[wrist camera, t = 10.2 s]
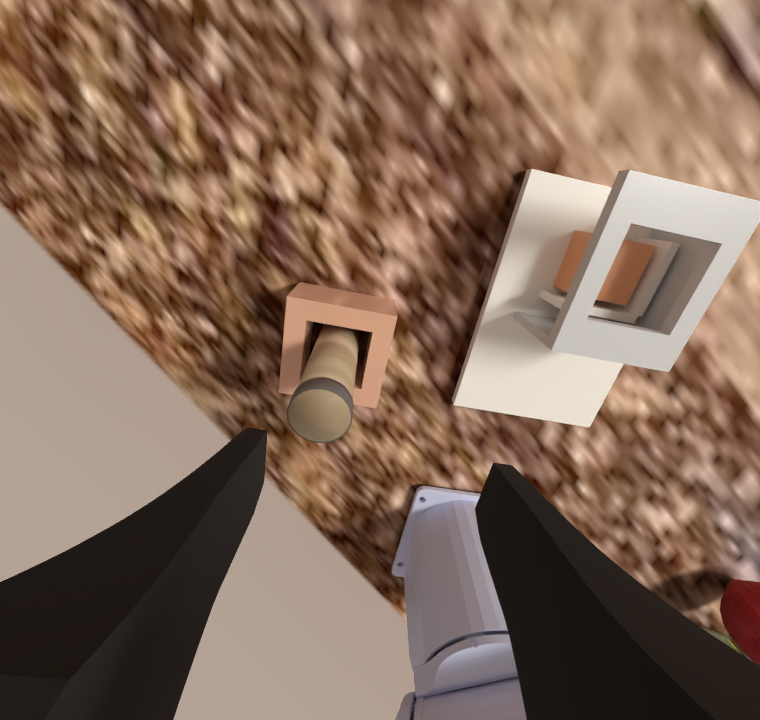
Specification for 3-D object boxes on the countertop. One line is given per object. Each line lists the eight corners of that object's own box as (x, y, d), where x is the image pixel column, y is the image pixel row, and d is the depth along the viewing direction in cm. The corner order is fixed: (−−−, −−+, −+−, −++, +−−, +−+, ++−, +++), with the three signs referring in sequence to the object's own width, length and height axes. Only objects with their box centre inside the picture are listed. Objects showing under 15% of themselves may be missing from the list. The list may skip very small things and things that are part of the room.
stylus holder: (376, 381, 21) (376, 408, 19) (291, 367, 21) (278, 392, 18) (394, 299, 19) (397, 316, 17) (299, 281, 19) (286, 296, 16)
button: (601, 295, 19) (626, 305, 17) (552, 285, 18) (572, 294, 17) (627, 241, 18) (656, 246, 16) (575, 230, 17) (598, 233, 16)
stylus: (357, 354, 21) (346, 447, 13) (318, 347, 20) (284, 437, 13) (364, 317, 20) (357, 394, 12) (323, 309, 20) (289, 383, 12)
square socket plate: (584, 421, 23) (637, 478, 18) (451, 399, 22) (472, 453, 17) (695, 209, 18) (811, 213, 13) (526, 169, 17) (584, 158, 12)
